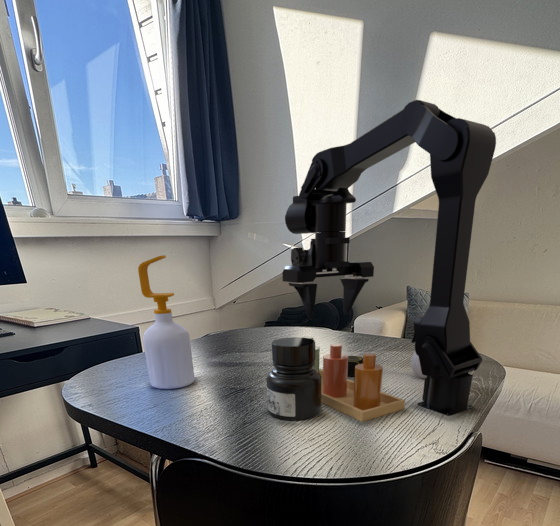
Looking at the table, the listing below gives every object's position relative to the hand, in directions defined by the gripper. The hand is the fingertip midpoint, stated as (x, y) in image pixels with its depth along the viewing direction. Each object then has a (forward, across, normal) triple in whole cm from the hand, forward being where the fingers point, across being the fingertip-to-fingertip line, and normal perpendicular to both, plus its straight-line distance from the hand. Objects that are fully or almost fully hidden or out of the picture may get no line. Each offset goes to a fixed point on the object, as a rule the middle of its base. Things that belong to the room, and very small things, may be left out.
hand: (328, 316), depth 84 cm
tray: (+12, +8, +12) cm, 19 cm away
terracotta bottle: (+12, +8, +12) cm, 19 cm away
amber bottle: (+12, +8, +21) cm, 25 cm away
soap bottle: (+12, +30, -14) cm, 35 cm away
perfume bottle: (+12, -15, +16) cm, 25 cm away
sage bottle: (+12, +8, +4) cm, 15 cm away
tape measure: (+12, -3, +3) cm, 13 cm away
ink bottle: (+12, +19, +15) cm, 27 cm away
